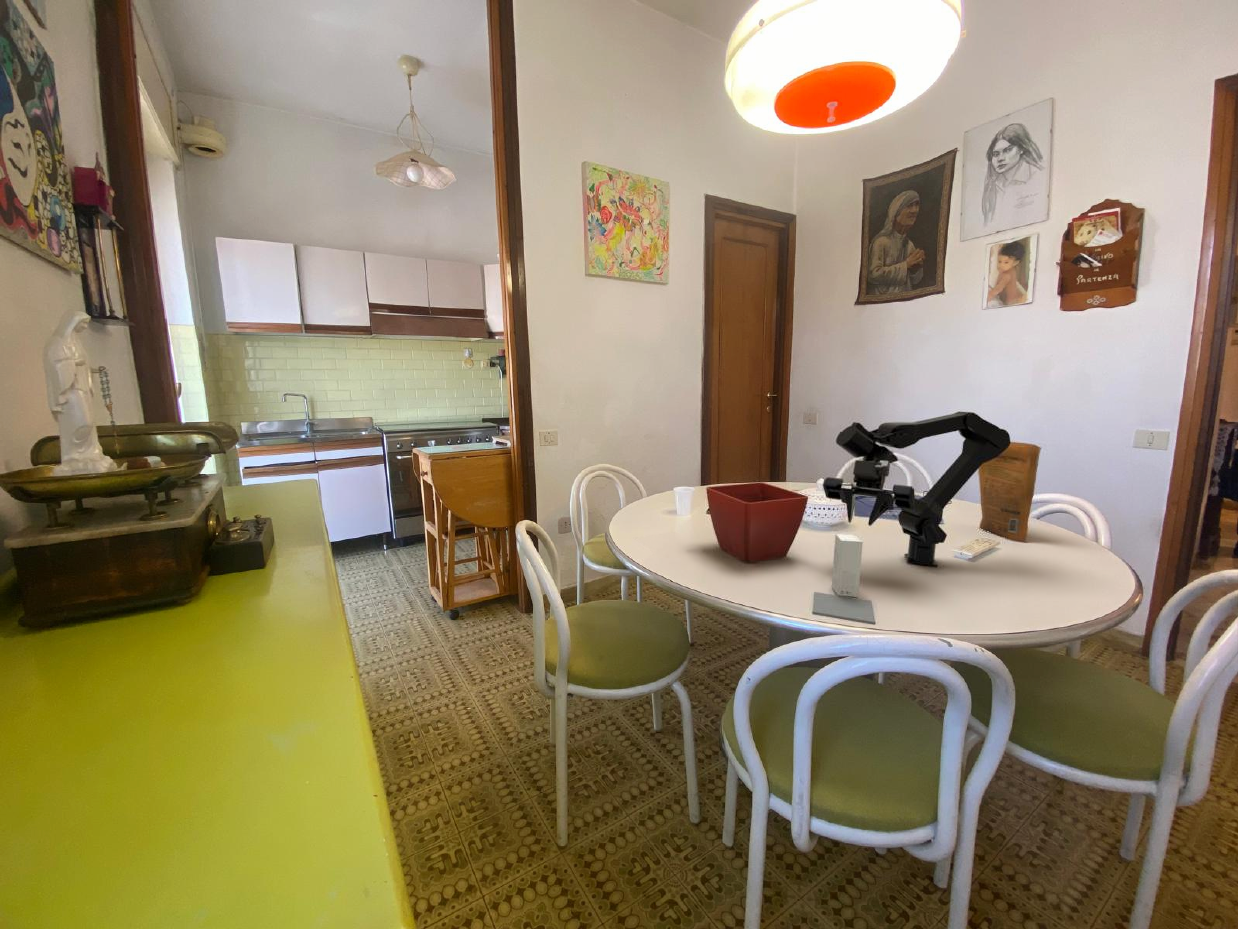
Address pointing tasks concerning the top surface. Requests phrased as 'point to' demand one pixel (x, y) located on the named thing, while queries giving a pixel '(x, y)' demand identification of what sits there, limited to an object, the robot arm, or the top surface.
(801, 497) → the plant pot
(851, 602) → the mat
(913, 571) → the top surface
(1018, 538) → the pancake mix bag
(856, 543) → the skincare box
